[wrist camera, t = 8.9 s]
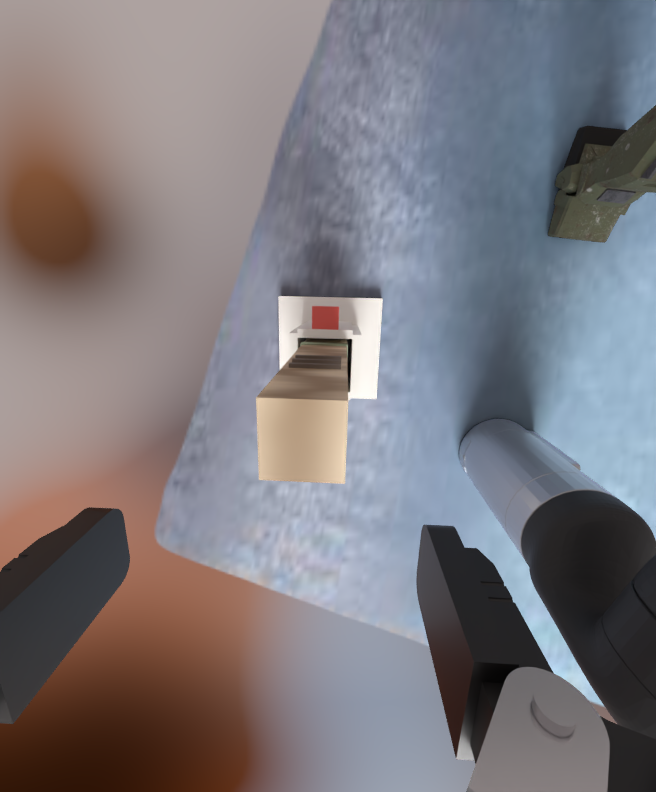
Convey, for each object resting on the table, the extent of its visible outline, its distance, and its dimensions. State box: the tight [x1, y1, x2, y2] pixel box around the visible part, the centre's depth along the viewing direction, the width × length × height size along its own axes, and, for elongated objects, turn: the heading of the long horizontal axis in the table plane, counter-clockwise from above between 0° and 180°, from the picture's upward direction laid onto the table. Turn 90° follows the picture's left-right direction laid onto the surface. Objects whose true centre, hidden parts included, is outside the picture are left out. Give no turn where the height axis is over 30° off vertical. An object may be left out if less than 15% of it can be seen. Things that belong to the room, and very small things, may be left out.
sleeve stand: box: [279, 296, 383, 400], centre depth 39 cm, size 12×12×12 cm
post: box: [256, 338, 348, 484], centre depth 26 cm, size 4×4×22 cm
